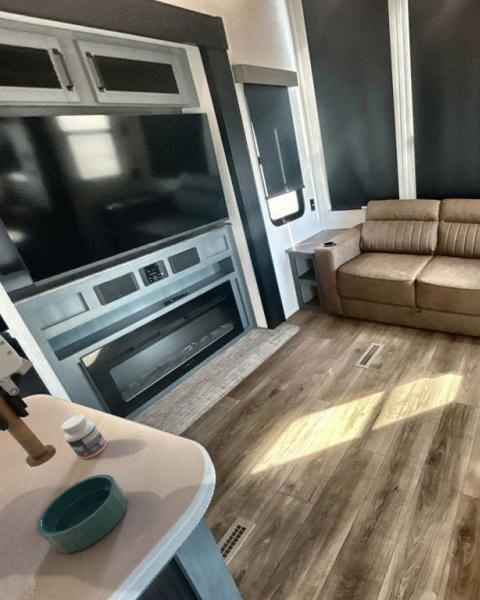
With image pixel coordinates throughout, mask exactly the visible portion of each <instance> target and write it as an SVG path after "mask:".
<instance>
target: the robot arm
mask: <svg viewBox="0 0 480 600" xmlns="http://www.w3.org/2000/svg"><path fill="white" fill-rule="evenodd" d="M33 365H34V364H33V362H32V361H31V360H28V359H27V358H24V357H22V356H20V355H19V354H18V352H17V351H16V350H15V349H14V348H13V346H11V345H10V343H9V342H8V341H7V340H6V339H5V338H4V337H3V336H2V335H1V334H0V394H1V395H2V396H3V398H4V399H5V400H6V401H7V402H8V404H9V405H10V406H11V407H12V408H13V409H14V411H15V412H16V413H17V414H18V415H19V417H20V418H21V419H22V418H27V417H28V416H30V413H29V412H28V411H27V408H28V407H29V406H28V404H27V403H26V402H25V401H24V399H23V398H22V397H21V396H20V395H19V393H20V389H19V387H20V384H21V382H22V380H23V376H24V375H25V374H26V373H27V372H28V371H29V370H30V369H31V368H32V367H33ZM8 427H9V426H8V425H7V423H6V422H5V421H4V420H3V419H2V418H1V417H0V431H2V432H5V431H7V429H8Z"/></svg>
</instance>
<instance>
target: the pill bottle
mask: <svg viewBox="0 0 480 600" xmlns="http://www.w3.org/2000/svg"><path fill="white" fill-rule="evenodd" d="M61 430H62V431H63V432H64V440H65V441H66V443H67V444H68V445H69V446H70V448H71V449H72V450H73V452H74V453H75V454H76V456H77V457H78V458H79V459H81V460H86V459H87V460H88V459H91V458H93V457H95V456H97V455H99V454H100V453H101V452H102V451H103V450H104V449H105V448H106V446H107V439H105V437H104V435H102V433H101V432H100V430H99V429H98V428H97V425H96V424H95V423H94V422H93V421H91V420H90V421H89V420H88V419H87V418H86V417H85V415H83V414H78V415H74V416H72V417H70V418H69V419H67V420H66V421H64V422H63V423H62V425H61Z"/></svg>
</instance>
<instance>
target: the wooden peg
mask: <svg viewBox="0 0 480 600" xmlns="http://www.w3.org/2000/svg"><path fill="white" fill-rule="evenodd" d="M0 417H1V418H2V419H3V420H4V421H5V422H6V423H7V425H8V426H9V427H8V429H7V430H6V431H7V432H8V433H9V434H10V435H11V437H13V439H14V440H16V442H17V443H18V445H20V447H21V448H22V449H23V450H24V451H25V453H27V455H28V456H27V457H26V458H25V463H26V464H27V465H28V467H30V468H35V467H39V466H42V465H44V464H46V463H47V462H48V461H50V460H51V459H53V458H54V457H55V455H56V454H57V449H56V448H55V446H54V445H52V444H46V445H44V443H42V441H41V440H40V439H39V438H38V436H37V435H36V434H35V433H34V431H32V430H31V428H30V427H29V426H28V425H27V424H26V422H25V421H24V420H23V419H22V417H19V415H18V414H17V413H16V412H15V411H14V409H13V408H12V407H11V406H10V405H9V404H8V402H7V401H6V400H5V399H4V398H3V396H2V395H1V394H0Z"/></svg>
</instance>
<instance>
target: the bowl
mask: <svg viewBox="0 0 480 600" xmlns="http://www.w3.org/2000/svg"><path fill="white" fill-rule="evenodd" d="M128 504H129V498H128V495H127V494H126V492H125V490H124V489H123V488H122V486H121V485H120V484H119V483H118V481H117V480H116V479H115V478H114V477H113V476H112V475H110V474H102V473H101V474H95V475H91V476H89V477H86V478H84V479H82V480H79V481H77V482H75V483H73V484H72V485H71V486H69V487H67V488H66V489H64V490H62V492H60V493H59V494H58V495H57V496H56V497H55V498H53V499H52V500H51V501H50V503H49V504H48V505H47V506H46V507H44V510H42V512H41V513H40V516H39V518H38V520H37V522H36V531H37V532H38V533H39V534H40V535H41V537H43V539H44V540H46V542H48V543H49V544H50V545H51V547H52V548H54V549H55V550H56V552H57V553H64V554H70V553H74V552H77V551H81V550H83V549H85V548H87V547H88V546H91V545H92V544H95V543H96V542H98V541H99V540H100V539H101V538H103V537H104V536H105V535H107V534H108V533H109V532H110V531H112V529H114V527H115V526H116V525H117V524H118V523H119V522H120V520H121V518H122V517H123V516H124V514H125V513H126V510H127V507H128Z"/></svg>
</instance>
